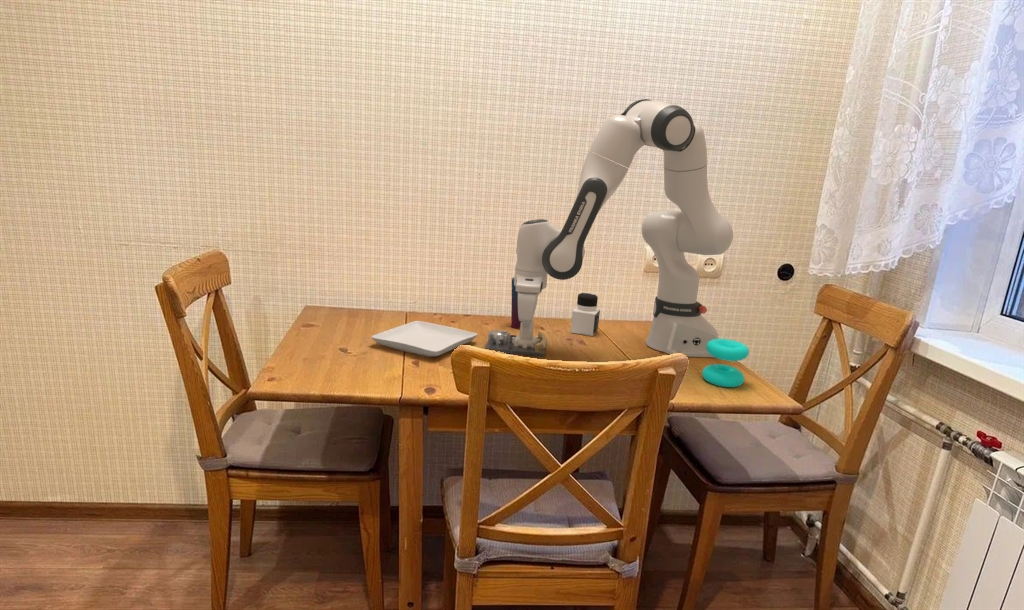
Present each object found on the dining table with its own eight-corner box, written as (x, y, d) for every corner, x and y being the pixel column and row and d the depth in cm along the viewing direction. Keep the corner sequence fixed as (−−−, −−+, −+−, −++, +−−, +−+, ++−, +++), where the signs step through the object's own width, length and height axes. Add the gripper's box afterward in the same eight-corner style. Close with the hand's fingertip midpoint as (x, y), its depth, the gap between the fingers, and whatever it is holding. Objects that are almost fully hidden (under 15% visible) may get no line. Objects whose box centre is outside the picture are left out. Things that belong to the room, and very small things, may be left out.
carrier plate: (546, 341, 173) (547, 330, 172) (543, 357, 159) (545, 344, 158) (491, 336, 174) (492, 324, 173) (484, 351, 161) (484, 338, 160)
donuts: (739, 338, 153) (757, 350, 144) (733, 375, 156) (750, 390, 146) (701, 336, 153) (716, 348, 143) (695, 373, 155) (710, 388, 146)
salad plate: (416, 329, 177) (416, 318, 176) (478, 343, 168) (479, 332, 167) (368, 348, 158) (368, 335, 157) (436, 364, 149) (436, 351, 148)
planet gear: (540, 341, 170) (541, 320, 168) (538, 349, 162) (540, 327, 161) (513, 338, 170) (515, 318, 169) (510, 346, 163) (512, 325, 161)
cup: (531, 324, 189) (534, 277, 185) (529, 330, 183) (533, 282, 179) (509, 322, 190) (512, 276, 186) (507, 328, 183) (510, 280, 179)
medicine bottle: (593, 336, 181) (597, 297, 178) (570, 332, 183) (573, 294, 180) (597, 330, 188) (601, 293, 185) (575, 327, 190) (579, 290, 187)
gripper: (522, 271, 172) (519, 318, 176) (515, 286, 153) (511, 338, 156) (544, 273, 172) (540, 319, 175) (540, 288, 152) (535, 340, 155)
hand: (527, 328), depth 165 cm, fingers open, 8 cm apart
